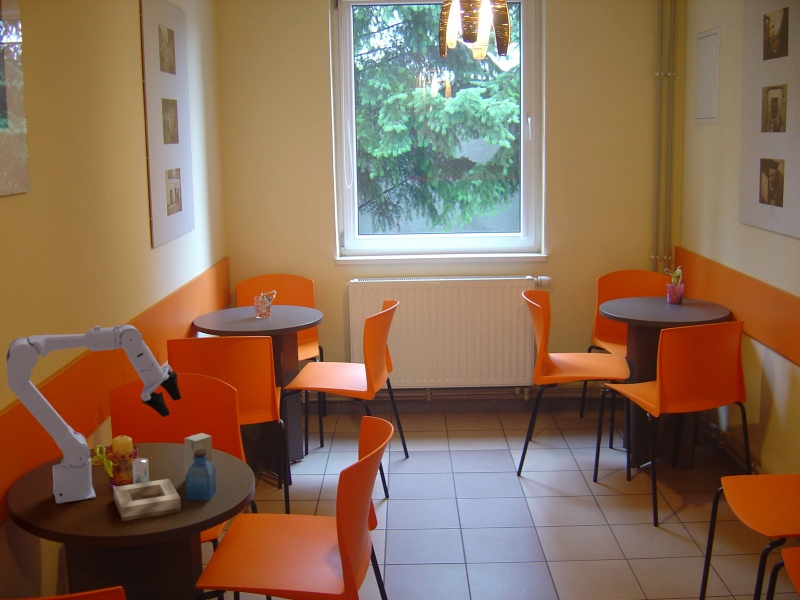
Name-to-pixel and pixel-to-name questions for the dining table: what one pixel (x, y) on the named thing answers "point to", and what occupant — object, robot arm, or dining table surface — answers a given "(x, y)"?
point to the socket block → (146, 499)
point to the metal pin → (140, 470)
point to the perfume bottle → (200, 478)
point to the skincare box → (197, 448)
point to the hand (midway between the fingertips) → (172, 407)
